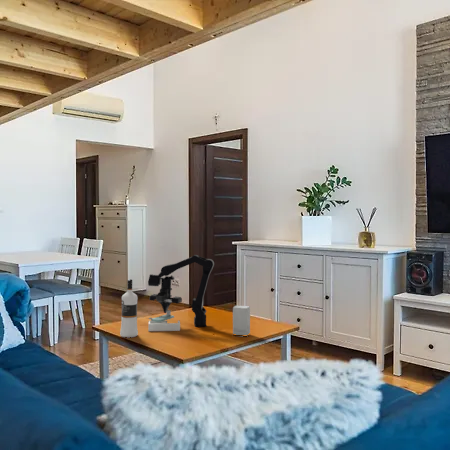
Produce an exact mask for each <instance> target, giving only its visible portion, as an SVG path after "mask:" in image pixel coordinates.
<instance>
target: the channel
mask: <svg viewBox="0 0 450 450" xmlns="http://www.w3.org/2000/svg"><path fill="white" fill-rule="evenodd" d="M180 321H181V320H177V322H175V323H174V322H172V323H171V322H169V323H168V320H165V321H161V322H156V321H151V320H148V327H147V328H148V329H147V330H148V331H147V332H173V331H174V332H176V331H177V332H178V331H179V332H180V331H181V322H180Z"/></svg>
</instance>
